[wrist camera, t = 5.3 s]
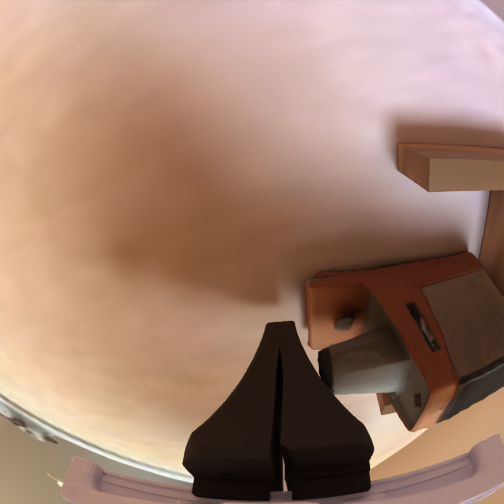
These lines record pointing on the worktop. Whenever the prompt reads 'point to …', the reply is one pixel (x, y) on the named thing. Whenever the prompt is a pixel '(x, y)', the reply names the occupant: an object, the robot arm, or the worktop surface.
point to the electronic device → (410, 335)
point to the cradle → (461, 179)
